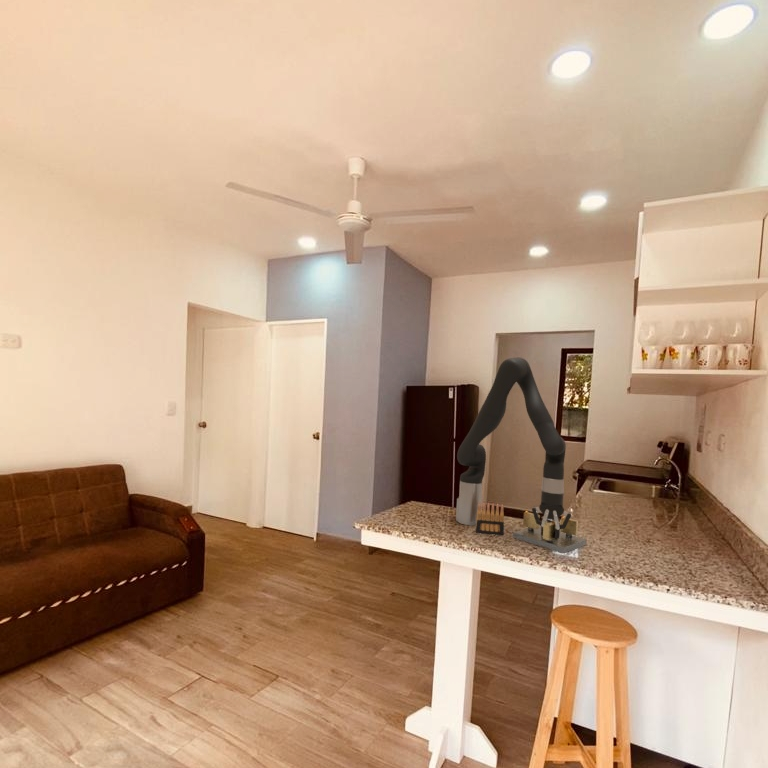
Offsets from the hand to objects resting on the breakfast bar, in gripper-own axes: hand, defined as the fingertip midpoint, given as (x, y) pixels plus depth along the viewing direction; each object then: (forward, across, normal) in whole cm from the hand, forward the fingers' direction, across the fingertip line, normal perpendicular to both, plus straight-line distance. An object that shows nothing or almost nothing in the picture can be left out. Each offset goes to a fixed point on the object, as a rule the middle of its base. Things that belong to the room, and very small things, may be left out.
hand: (550, 537), depth 159 cm
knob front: (+1, 0, 0) cm, 1 cm away
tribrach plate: (+3, -1, +8) cm, 9 cm away
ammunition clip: (+4, -22, +3) cm, 23 cm away
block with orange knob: (+1, -8, +11) cm, 14 cm away
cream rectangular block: (+1, +6, +12) cm, 14 cm away
